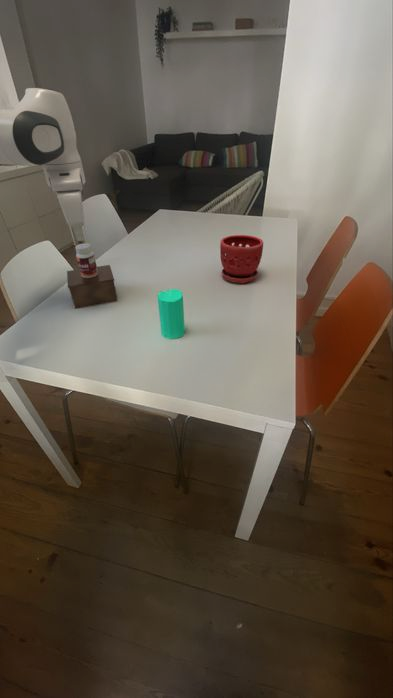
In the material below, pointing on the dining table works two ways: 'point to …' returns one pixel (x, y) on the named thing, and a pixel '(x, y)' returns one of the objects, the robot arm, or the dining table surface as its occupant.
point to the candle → (171, 313)
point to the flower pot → (240, 257)
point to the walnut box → (92, 287)
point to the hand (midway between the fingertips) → (79, 234)
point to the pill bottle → (86, 261)
